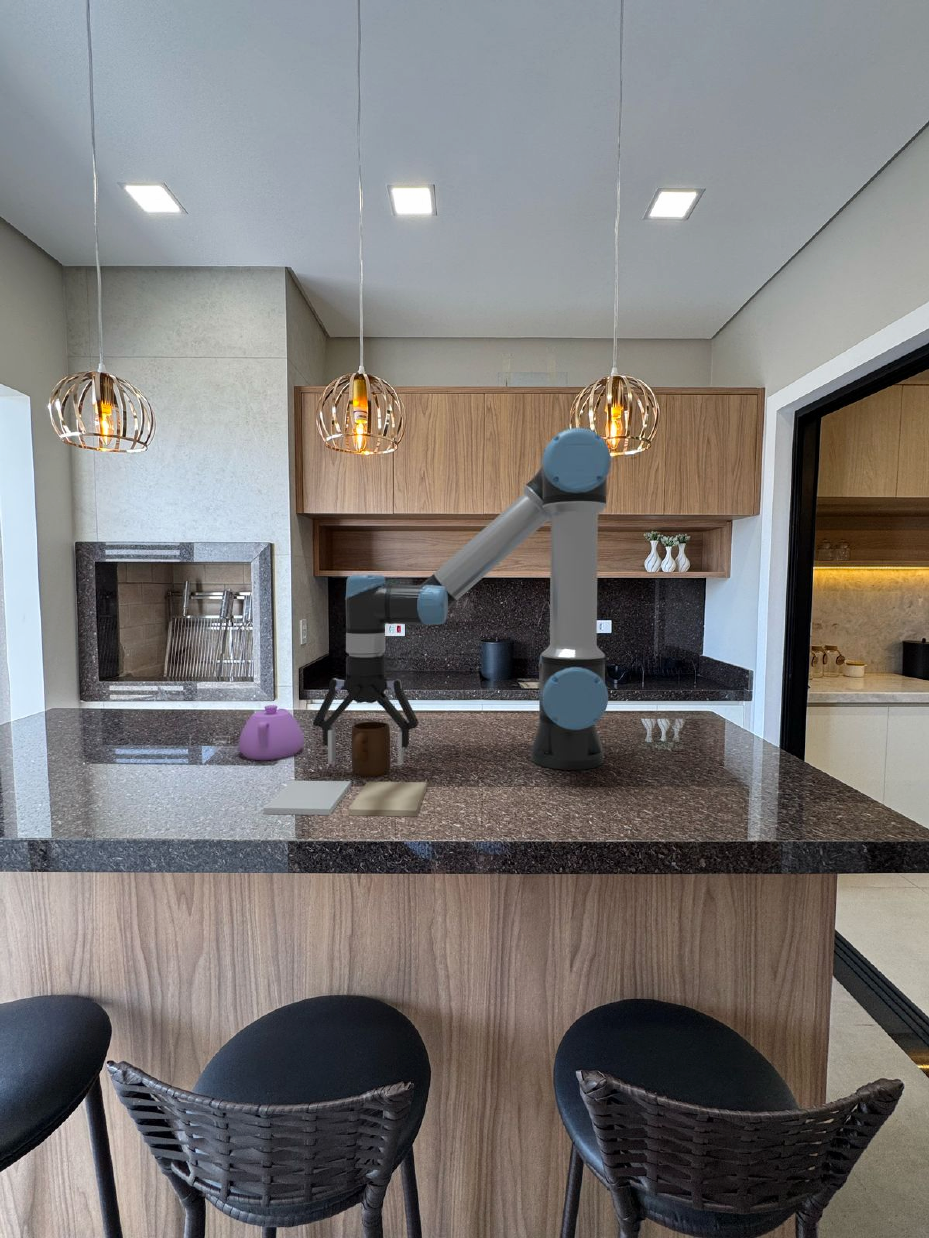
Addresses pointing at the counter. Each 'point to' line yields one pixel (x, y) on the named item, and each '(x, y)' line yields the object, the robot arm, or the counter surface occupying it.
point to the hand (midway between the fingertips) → (366, 762)
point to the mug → (370, 748)
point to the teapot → (271, 735)
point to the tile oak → (389, 799)
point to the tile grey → (308, 798)
